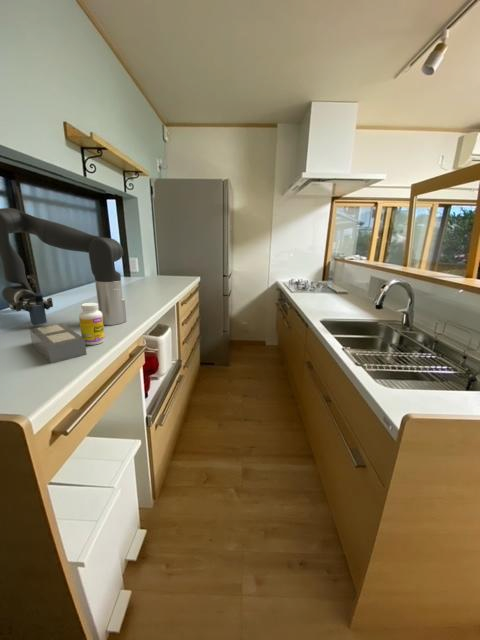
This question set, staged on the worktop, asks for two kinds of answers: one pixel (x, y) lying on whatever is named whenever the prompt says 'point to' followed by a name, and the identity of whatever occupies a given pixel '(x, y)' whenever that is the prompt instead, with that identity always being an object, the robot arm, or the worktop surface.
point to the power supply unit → (58, 342)
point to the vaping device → (37, 310)
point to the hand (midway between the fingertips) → (38, 307)
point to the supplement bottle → (91, 324)
